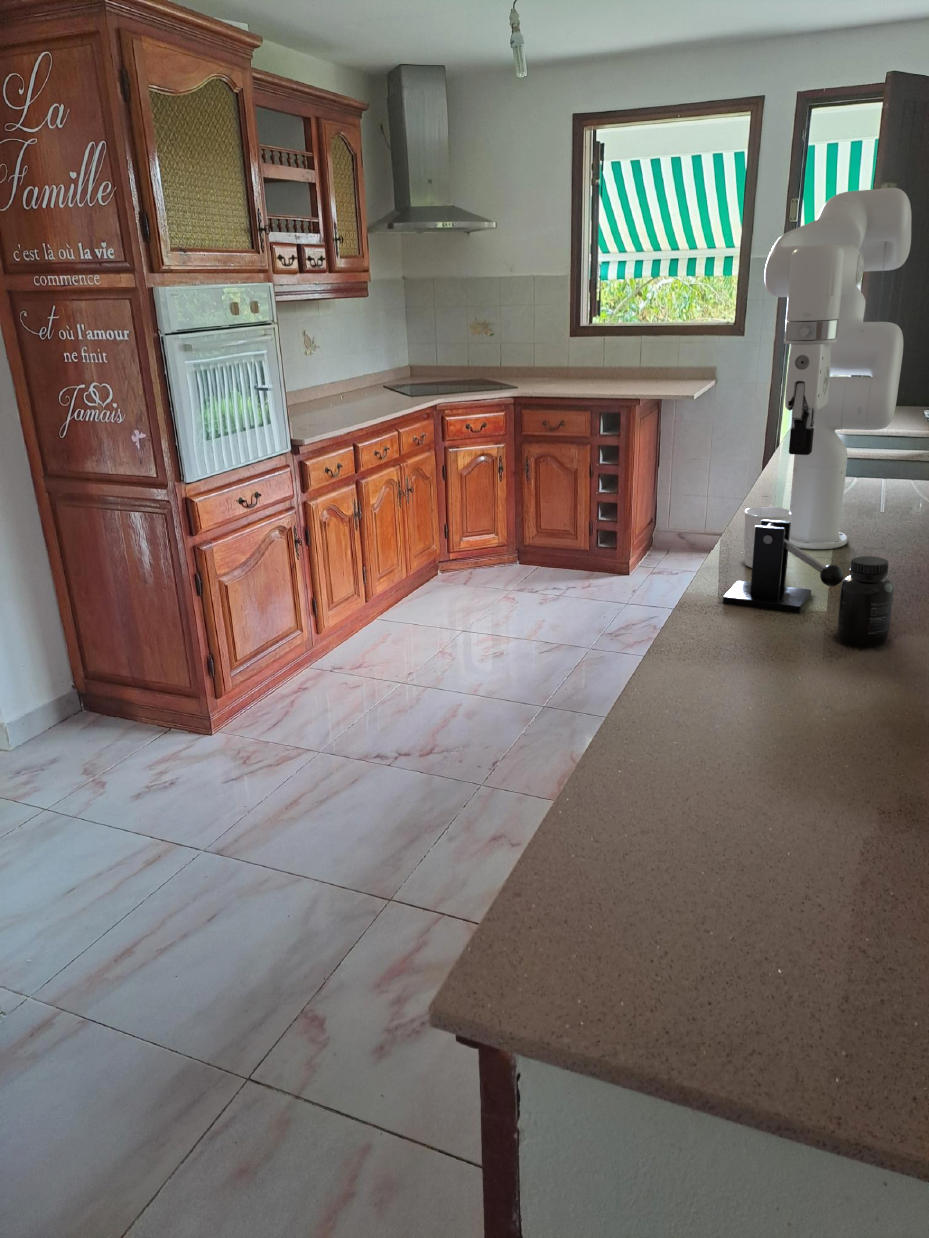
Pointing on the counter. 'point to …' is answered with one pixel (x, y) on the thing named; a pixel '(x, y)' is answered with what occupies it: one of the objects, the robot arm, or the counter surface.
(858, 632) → the supplement bottle
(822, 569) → the tap lever
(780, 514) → the white cup
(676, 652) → the counter surface
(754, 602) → the black lever stand
